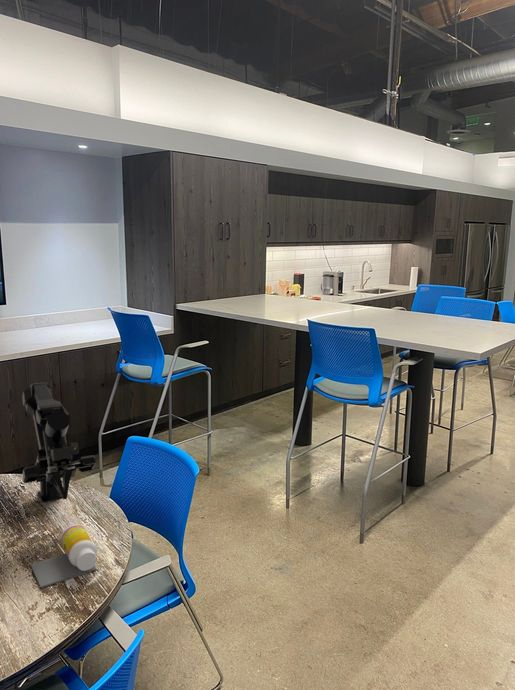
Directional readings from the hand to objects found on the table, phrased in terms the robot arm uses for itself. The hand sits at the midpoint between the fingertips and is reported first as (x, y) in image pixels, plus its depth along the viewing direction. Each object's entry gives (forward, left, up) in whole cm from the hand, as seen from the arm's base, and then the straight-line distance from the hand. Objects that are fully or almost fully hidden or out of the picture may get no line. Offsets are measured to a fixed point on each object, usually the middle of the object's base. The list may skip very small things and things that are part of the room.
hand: (65, 498), depth 142 cm
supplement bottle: (+8, 0, -6) cm, 10 cm away
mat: (+15, -5, -10) cm, 19 cm away
